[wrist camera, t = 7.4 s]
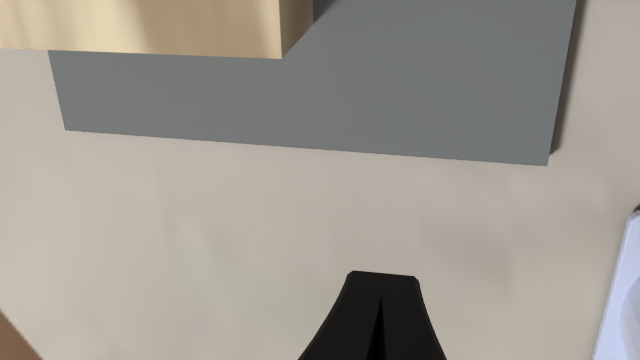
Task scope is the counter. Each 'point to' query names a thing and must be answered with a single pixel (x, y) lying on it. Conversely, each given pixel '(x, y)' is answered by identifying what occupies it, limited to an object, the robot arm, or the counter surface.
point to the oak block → (157, 26)
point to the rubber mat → (350, 83)
